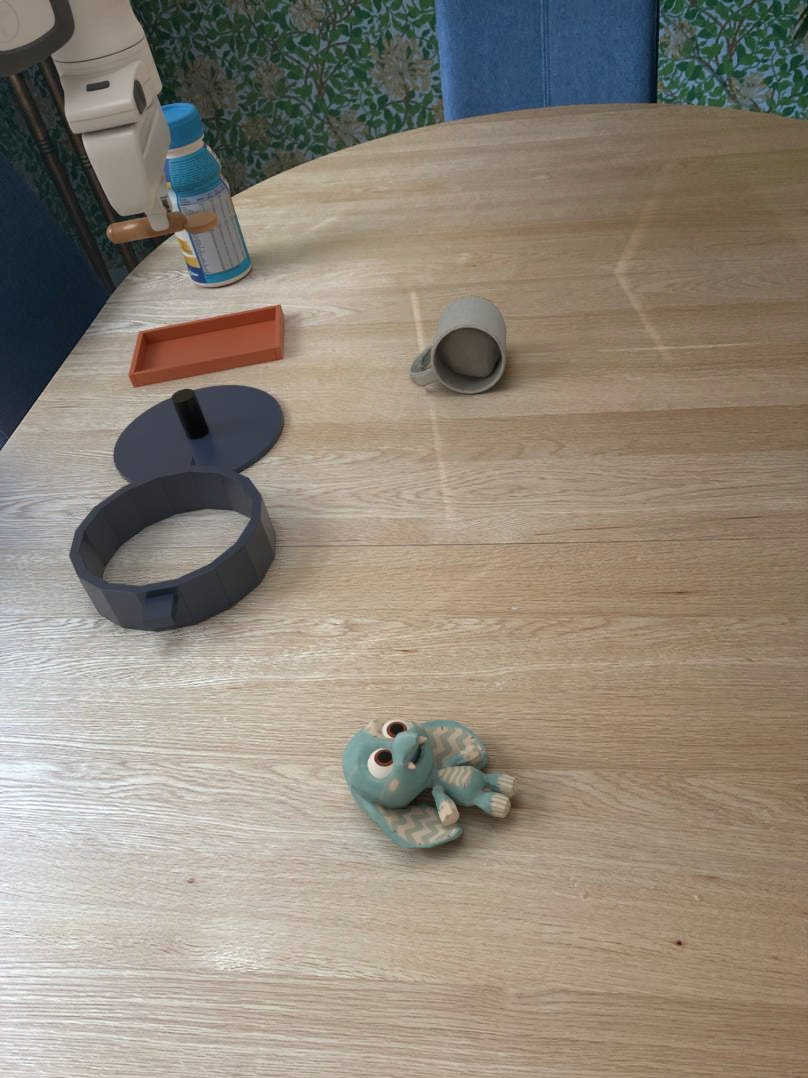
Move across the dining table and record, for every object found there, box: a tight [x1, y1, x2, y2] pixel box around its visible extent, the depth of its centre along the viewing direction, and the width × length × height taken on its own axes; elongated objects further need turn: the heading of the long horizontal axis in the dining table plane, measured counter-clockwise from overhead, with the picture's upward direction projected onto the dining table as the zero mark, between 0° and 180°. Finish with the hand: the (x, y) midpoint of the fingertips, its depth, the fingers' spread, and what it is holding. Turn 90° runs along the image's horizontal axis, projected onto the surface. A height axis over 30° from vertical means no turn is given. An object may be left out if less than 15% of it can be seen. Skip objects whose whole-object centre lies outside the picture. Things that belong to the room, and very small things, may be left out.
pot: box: [68, 456, 277, 632], centre depth 90 cm, size 17×22×5 cm
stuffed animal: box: [341, 716, 518, 850], centre depth 68 cm, size 11×7×12 cm
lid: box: [112, 384, 285, 484], centre depth 103 cm, size 18×18×6 cm
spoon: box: [106, 211, 219, 245], centre depth 107 cm, size 12×4×2 cm, turn 97°
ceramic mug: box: [408, 295, 507, 395], centre depth 105 cm, size 11×8×8 cm
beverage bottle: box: [161, 102, 253, 288], centre depth 126 cm, size 8×8×20 cm
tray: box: [128, 303, 285, 388], centre depth 117 cm, size 17×10×2 cm, turn 97°
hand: (163, 221), depth 107 cm, fingers closed on spoon, 2 cm apart
